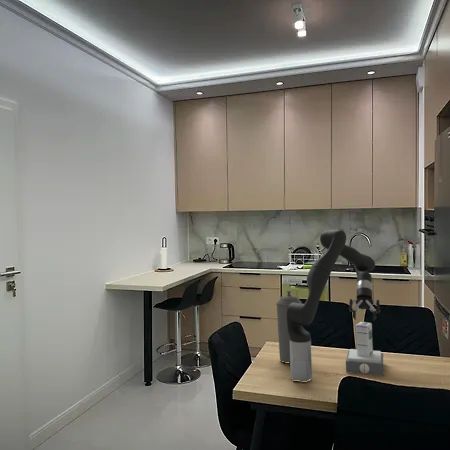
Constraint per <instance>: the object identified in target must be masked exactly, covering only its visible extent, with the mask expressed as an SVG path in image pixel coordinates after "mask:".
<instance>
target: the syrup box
mask: <svg viewBox="0 0 450 450" xmlns="http://www.w3.org/2000/svg"><path fill="white" fill-rule="evenodd" d="M355 333H356V335H355V336H356V349H357V355H360V356H366V357H370V355H372V354H373V351H374V345H373V344H374V343H373V324H372V322H368V321H367V322H366V321H359V323H356V324H355Z"/></svg>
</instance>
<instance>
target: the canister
mask: <svg viewBox="0 0 450 450" xmlns="http://www.w3.org/2000/svg"><path fill="white" fill-rule="evenodd" d="M286 293H287V294H285V295H282V296H281V297H280V298H279V299H278V300H277V302H276V317H277V318H276V319H277V333H278V352H279V361H280V360H281V361H284V362H289V363H290V337H289V334H288V327H287V308H288V306H289V305H290V304H291V303H302V301H301V300H300V299H299V298H298V296H296V295H293V294H291V293H292V290H286ZM281 361H280V362H281Z"/></svg>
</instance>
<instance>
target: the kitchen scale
mask: <svg viewBox="0 0 450 450" xmlns="http://www.w3.org/2000/svg"><path fill="white" fill-rule="evenodd" d="M346 354H347V355H346V358H345V372H346V373H349V372H352V373H353V374H362V375H363V374H364V375H374V376H375V375H376V376H383V377H384V375H385V371H384V369H385V368H384V353H383V352H381V350H373V354H372V355H370V357H366V356H360V355H357V348H350V349H349V350H347V353H346Z"/></svg>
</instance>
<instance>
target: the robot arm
mask: <svg viewBox="0 0 450 450" xmlns="http://www.w3.org/2000/svg"><path fill="white" fill-rule="evenodd" d="M319 238H320V239H319V241H320V244H321V246H322V247H323V248H325V249H326V250H327V251H326V252H325V253H324V254H322V255H321V256H320V257H318V259H316V260H315V261H314V263H313V264H312V265H311V267H310V269H309V271H308V273H307V275H306V284H307V288H308V296H307V299H306V301H305V302H304V303H302V302H301V303H291V304H290V305H289V306H288V308H287V327H288V334H289V337H290V364H289V366H290V379H291V378H293V380H300V381H307V380H309V379H311V378H312V379H313V366H312V365H313V363H312V362H313V360H312V337H311V333H310V332H309V331H308V330H306V328H304V327H303V326H305V327H307V326H310V325H311V324H312V323H313V321H314V319H315V316H316V313H317V310H318V305H319V304H320V300H321V297H322V295H323V292H324V291H325V287H326V285H327V283H328V281H329V280H330V279H329V278H330V277H331V273H332V270H333V268H334V266H335V264H336V262H337V260H338V258H339V256H341V257H342V258H343V259H345V260H346V261H348V262H349V263H350V264H351V265H352V266H353V267H354V271H355V273H356V277H357V281H356V283H357V284H356V299H355V300H353V299H352V298H350V299H349V305H348V311H349V312H350V313H352V318H353V319H354V320H357V312H358V311H360V310H367V311H368V310H370V312H372V321H375V320H376V319H377V314H380V313H381V306H380V300H379V299H377V300H373V284H372V283H373V282H372V281H373V279H372V278H373V277H372V274H371V273H370V272H369V271H373V270H374V269H375V267H376V263H375V260H374V259H373V258H372V257H371V256H369V255H366V254H363V253H361V252H360V251H359V250H357V249H356V248H354V247H352V246H350V245H347V244H346V242H347V234H346V231H344V230H342V229H327V230H324V231H323V232H321V234H320V236H319ZM354 305H355V306H354ZM373 305H375V306H376V308H375V307H374V306H373ZM353 306H354V307H353ZM293 380H292V381H293Z"/></svg>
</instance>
